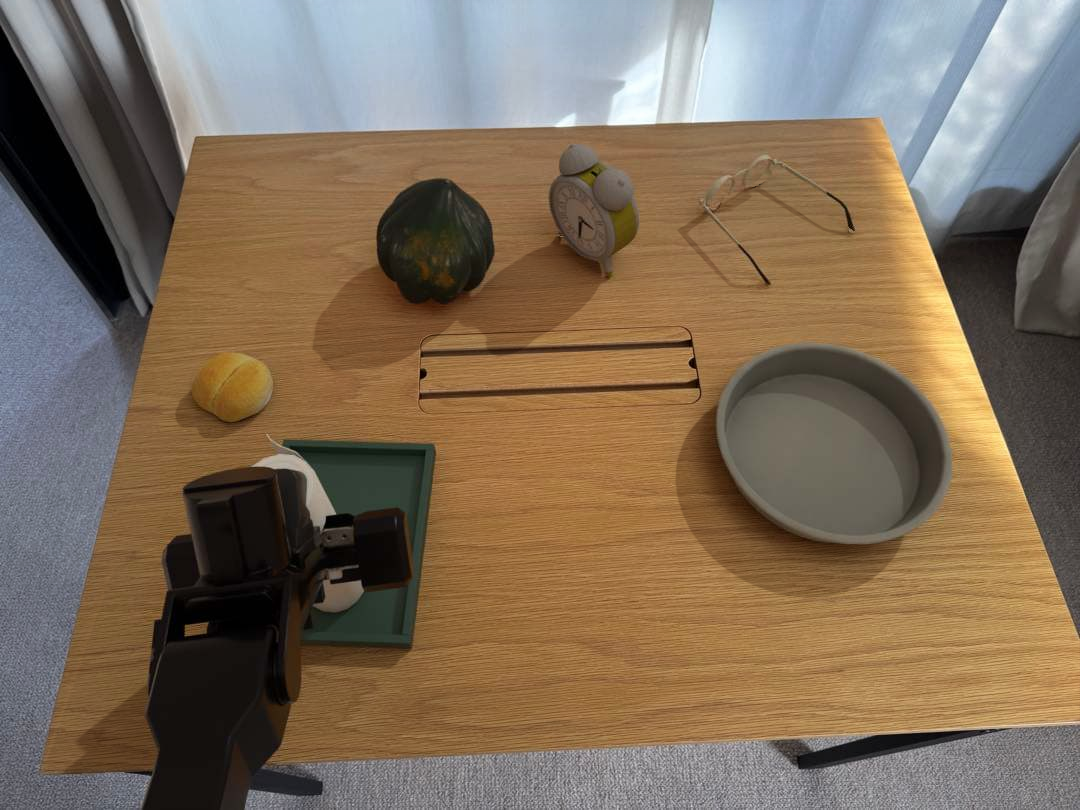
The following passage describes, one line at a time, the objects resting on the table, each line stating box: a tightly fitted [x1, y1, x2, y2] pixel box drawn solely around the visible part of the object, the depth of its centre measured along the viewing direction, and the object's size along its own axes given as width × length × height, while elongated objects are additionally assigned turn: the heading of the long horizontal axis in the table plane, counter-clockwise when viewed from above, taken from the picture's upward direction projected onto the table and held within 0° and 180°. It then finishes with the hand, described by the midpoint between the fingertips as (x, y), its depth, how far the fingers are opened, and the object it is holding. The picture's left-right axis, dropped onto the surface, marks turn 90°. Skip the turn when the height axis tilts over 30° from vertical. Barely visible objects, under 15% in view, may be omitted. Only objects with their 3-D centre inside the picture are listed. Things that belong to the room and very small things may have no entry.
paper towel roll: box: [250, 433, 364, 613], centre depth 68 cm, size 7×6×21 cm
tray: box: [281, 439, 437, 650], centre depth 79 cm, size 22×17×2 cm
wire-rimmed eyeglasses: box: [697, 154, 856, 286], centre depth 102 cm, size 17×15×5 cm
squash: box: [375, 177, 496, 306], centre depth 94 cm, size 14×15×15 cm
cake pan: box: [715, 342, 954, 545], centre depth 83 cm, size 25×25×4 cm
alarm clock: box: [548, 143, 640, 278], centre depth 95 cm, size 12×7×15 cm, turn 41°
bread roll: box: [191, 351, 274, 423], centre depth 88 cm, size 8×9×4 cm
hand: (312, 524), depth 69 cm, fingers closed on paper towel roll, 3 cm apart
